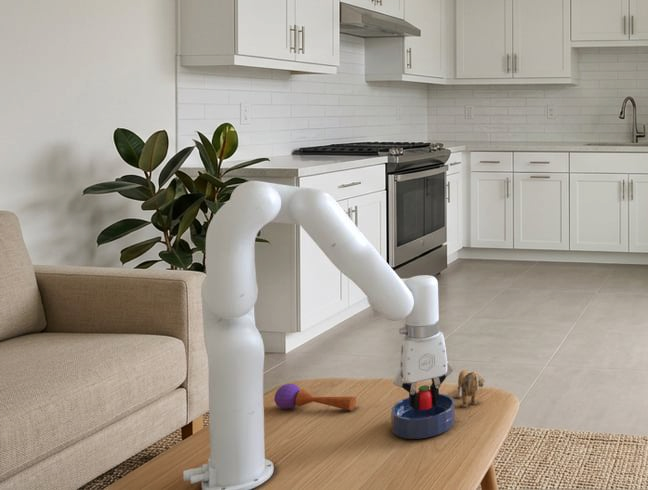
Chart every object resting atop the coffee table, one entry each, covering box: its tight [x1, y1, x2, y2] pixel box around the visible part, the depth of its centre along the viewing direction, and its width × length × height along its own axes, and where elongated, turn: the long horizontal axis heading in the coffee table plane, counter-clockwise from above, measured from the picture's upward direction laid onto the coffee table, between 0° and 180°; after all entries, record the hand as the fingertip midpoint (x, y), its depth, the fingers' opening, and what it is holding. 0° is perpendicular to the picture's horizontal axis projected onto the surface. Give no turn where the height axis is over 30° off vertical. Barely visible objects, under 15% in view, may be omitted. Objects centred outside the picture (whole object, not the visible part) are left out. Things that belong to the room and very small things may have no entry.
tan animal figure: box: [456, 369, 486, 408], centre depth 171 cm, size 15×5×9 cm, turn 33°
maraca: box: [274, 383, 357, 412], centre depth 167 cm, size 6×6×20 cm
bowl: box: [390, 393, 456, 440], centre depth 157 cm, size 14×14×5 cm
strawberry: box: [416, 384, 433, 410], centre depth 157 cm, size 4×4×5 cm
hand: (424, 405), depth 157 cm, fingers closed on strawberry, 3 cm apart
